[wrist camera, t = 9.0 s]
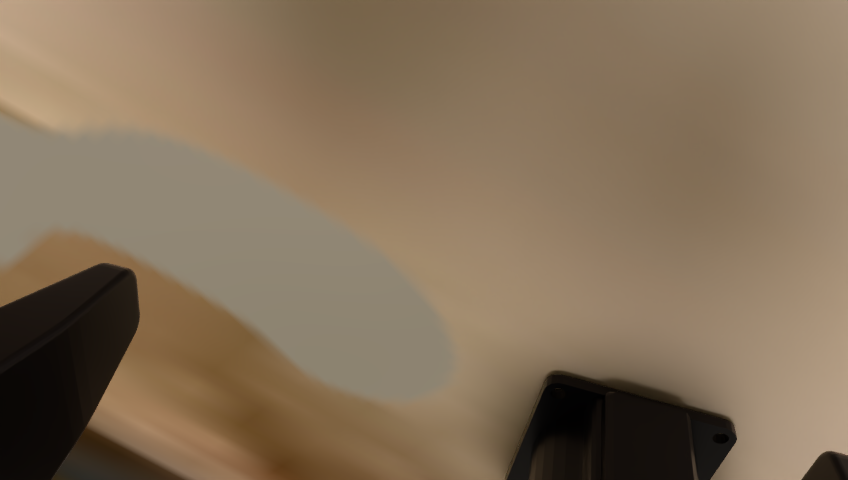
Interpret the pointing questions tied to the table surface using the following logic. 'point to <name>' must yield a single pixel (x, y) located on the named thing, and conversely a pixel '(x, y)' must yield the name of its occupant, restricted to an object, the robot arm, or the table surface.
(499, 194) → the table surface
